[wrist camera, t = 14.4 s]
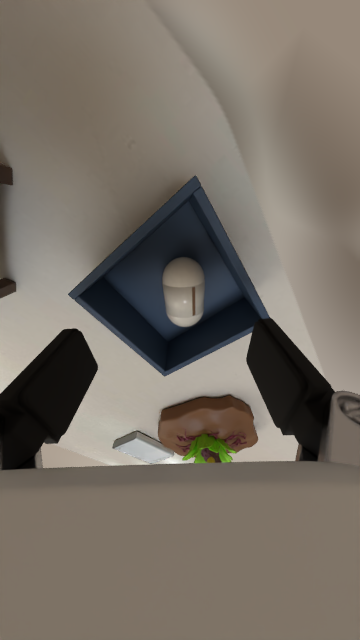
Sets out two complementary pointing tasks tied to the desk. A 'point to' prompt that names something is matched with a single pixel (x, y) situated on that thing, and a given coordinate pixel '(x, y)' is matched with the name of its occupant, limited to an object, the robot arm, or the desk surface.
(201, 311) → the white capsule
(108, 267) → the bin
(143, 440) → the hard drive
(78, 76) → the desk surface
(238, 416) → the plant
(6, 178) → the side table
